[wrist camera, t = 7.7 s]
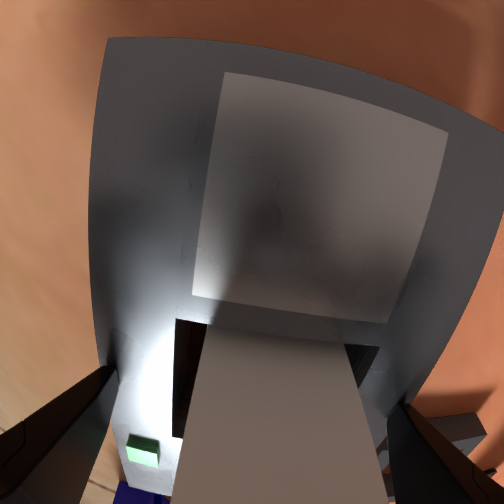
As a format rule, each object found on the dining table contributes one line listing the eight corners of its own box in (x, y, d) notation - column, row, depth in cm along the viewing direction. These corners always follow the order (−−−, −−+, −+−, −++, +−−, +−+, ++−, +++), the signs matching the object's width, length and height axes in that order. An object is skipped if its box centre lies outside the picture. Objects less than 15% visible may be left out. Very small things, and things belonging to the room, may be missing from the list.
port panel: (454, 131, 9) (529, 145, 5) (315, 459, 16) (321, 514, 12) (156, 61, 8) (100, 34, 5) (143, 436, 15) (127, 492, 12)
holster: (475, 412, 15) (487, 434, 13) (416, 476, 18) (422, 495, 16) (373, 421, 14) (382, 450, 13) (324, 485, 17) (326, 508, 16)
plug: (330, 298, 11) (399, 533, 4) (300, 378, 13) (320, 572, 5) (217, 279, 11) (160, 533, 3) (204, 363, 13) (167, 564, 5)
